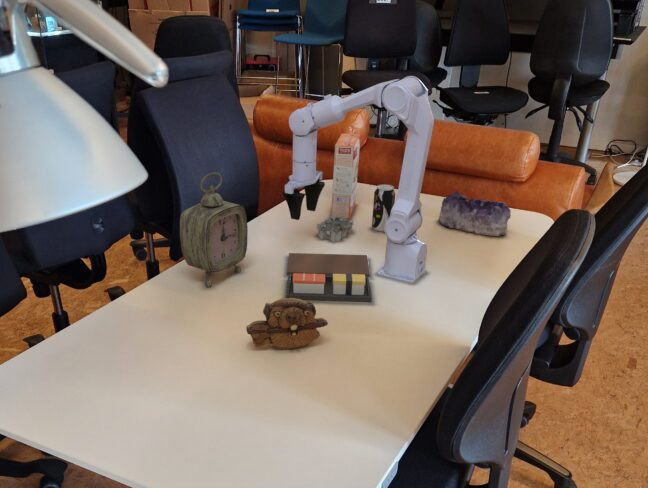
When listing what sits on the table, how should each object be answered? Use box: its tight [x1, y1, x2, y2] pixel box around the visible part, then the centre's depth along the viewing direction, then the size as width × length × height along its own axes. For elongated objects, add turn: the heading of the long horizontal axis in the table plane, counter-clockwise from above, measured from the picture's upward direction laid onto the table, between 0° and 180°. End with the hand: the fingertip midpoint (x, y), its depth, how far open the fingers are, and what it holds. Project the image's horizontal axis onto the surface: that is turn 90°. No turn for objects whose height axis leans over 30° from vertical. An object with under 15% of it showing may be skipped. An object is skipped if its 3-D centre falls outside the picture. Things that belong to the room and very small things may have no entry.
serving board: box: [286, 252, 371, 279], centre depth 179 cm, size 20×12×1 cm, turn 87°
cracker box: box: [330, 133, 361, 220], centre depth 209 cm, size 14×6×21 cm, turn 168°
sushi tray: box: [285, 275, 372, 303], centre depth 168 cm, size 19×11×2 cm, turn 87°
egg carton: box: [316, 215, 355, 243], centre depth 198 cm, size 11×8×4 cm
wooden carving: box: [245, 297, 329, 349], centre depth 144 cm, size 16×5×10 cm, turn 105°
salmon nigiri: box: [293, 273, 325, 294], centre depth 167 cm, size 7×4×3 cm, turn 87°
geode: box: [437, 190, 512, 237], centre depth 201 cm, size 20×12×10 cm, turn 64°
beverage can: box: [371, 183, 396, 233], centre depth 199 cm, size 6×6×12 cm
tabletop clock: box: [179, 172, 249, 288], centre depth 167 cm, size 14×9×25 cm, turn 143°
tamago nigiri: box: [333, 273, 366, 295], centre depth 167 cm, size 7×4×4 cm, turn 87°
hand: (303, 214), depth 183 cm, fingers open, 7 cm apart
